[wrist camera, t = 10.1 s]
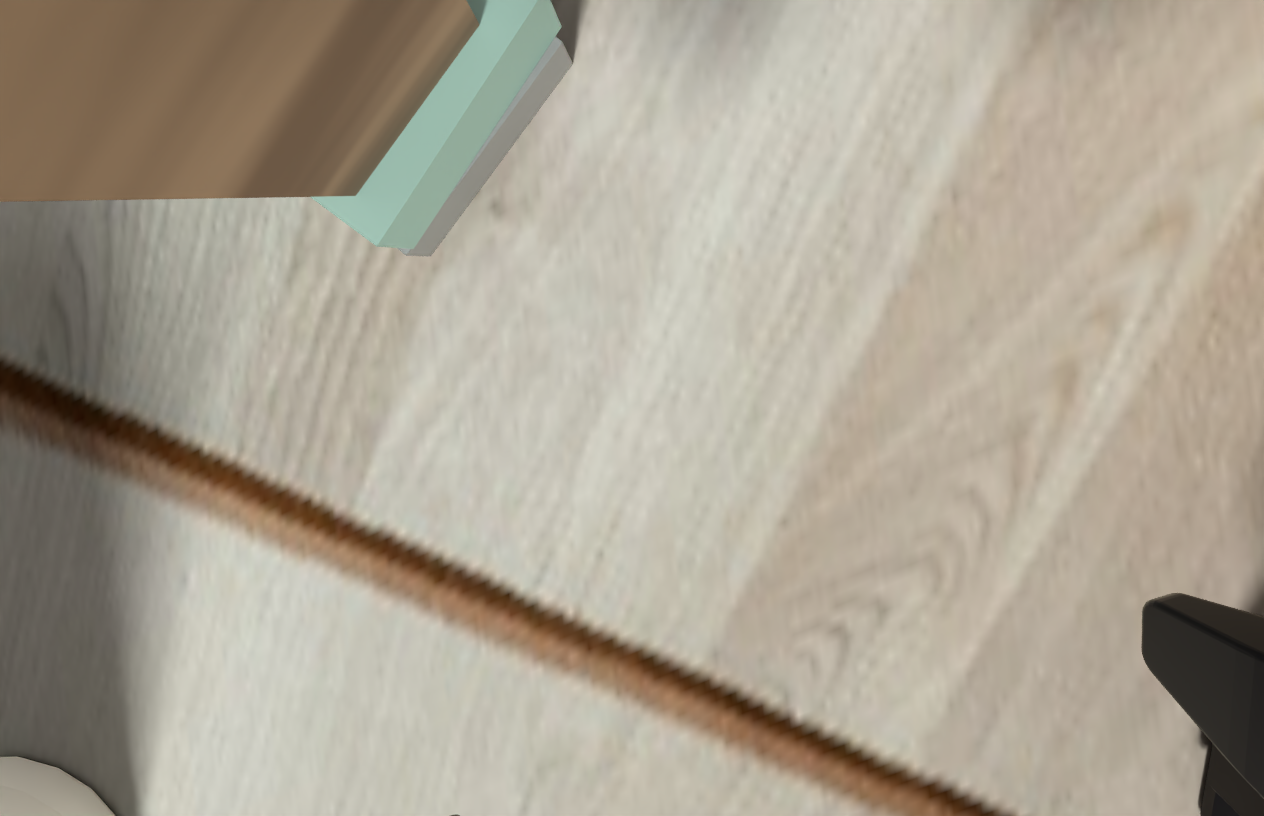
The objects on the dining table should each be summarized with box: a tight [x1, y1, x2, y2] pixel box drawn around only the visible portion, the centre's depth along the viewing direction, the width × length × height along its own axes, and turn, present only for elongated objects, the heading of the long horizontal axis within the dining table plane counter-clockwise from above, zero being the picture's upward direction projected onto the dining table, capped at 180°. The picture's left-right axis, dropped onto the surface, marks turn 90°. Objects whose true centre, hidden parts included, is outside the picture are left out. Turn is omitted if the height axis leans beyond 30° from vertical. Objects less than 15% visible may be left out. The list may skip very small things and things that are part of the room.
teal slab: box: [311, 0, 562, 249], centre depth 16 cm, size 6×6×2 cm
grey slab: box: [398, 36, 573, 256], centre depth 19 cm, size 6×6×2 cm
